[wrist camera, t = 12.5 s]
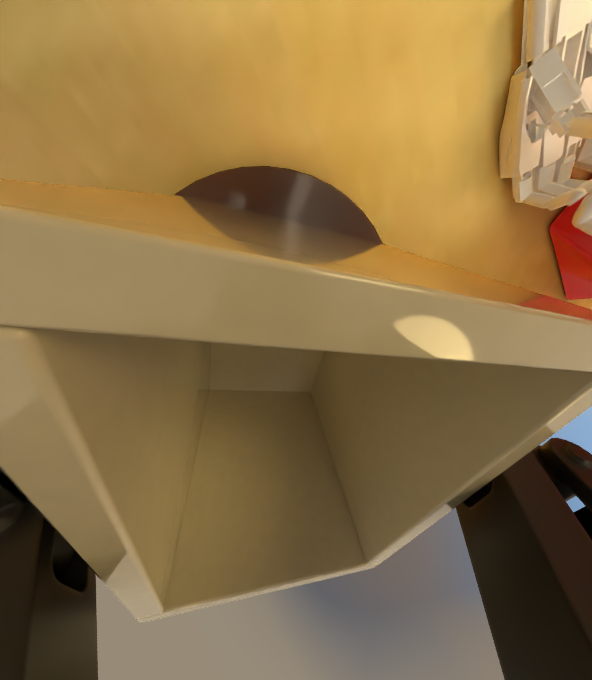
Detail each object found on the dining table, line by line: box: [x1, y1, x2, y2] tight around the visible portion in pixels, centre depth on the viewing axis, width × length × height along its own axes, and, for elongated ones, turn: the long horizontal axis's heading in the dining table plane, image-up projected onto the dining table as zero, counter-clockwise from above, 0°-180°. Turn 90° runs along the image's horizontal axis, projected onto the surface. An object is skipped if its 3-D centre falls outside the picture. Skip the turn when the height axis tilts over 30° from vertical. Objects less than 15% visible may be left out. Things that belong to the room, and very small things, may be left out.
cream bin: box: [0, 179, 592, 623], centre depth 10 cm, size 14×9×10 cm, turn 167°
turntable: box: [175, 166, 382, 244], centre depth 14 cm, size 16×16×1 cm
